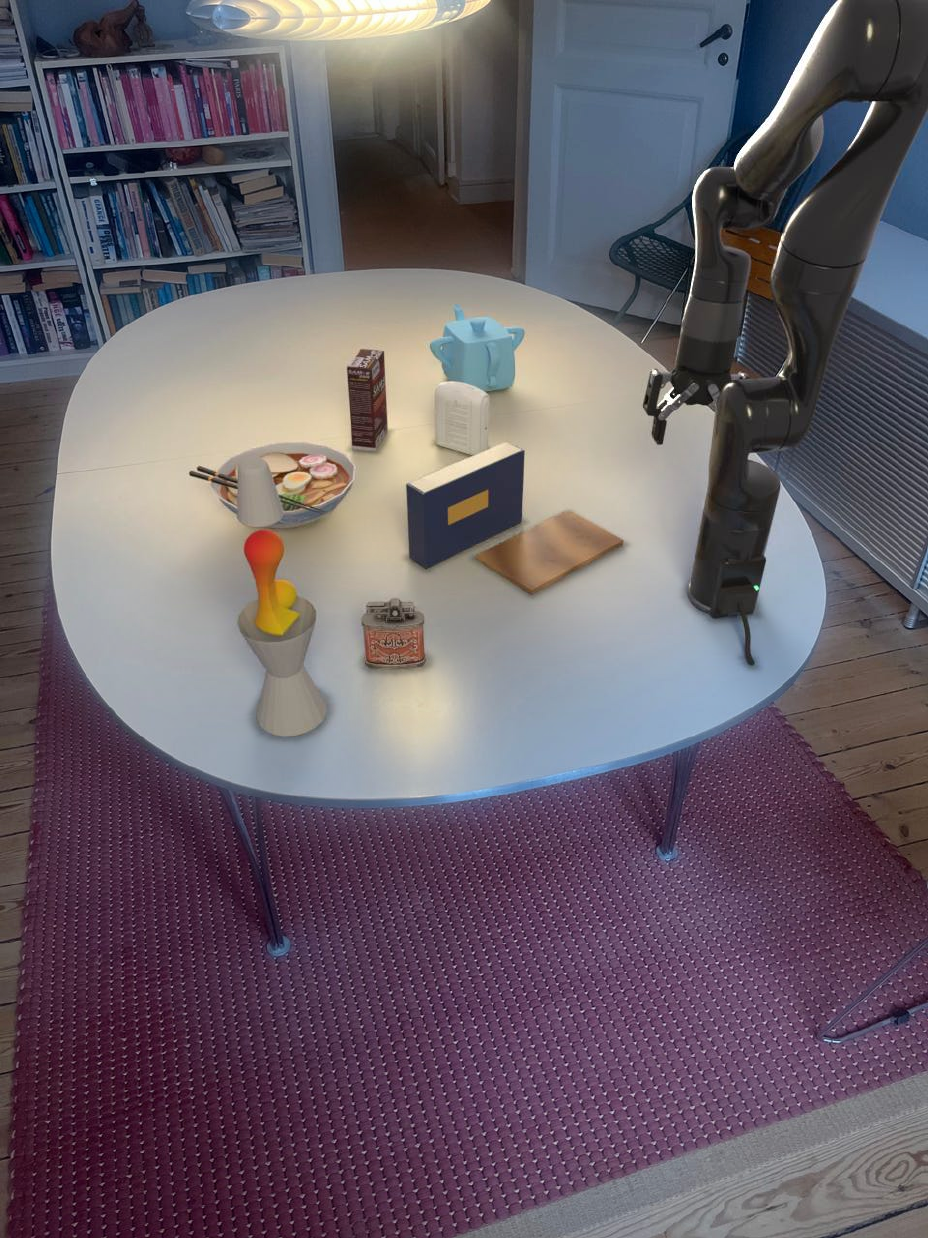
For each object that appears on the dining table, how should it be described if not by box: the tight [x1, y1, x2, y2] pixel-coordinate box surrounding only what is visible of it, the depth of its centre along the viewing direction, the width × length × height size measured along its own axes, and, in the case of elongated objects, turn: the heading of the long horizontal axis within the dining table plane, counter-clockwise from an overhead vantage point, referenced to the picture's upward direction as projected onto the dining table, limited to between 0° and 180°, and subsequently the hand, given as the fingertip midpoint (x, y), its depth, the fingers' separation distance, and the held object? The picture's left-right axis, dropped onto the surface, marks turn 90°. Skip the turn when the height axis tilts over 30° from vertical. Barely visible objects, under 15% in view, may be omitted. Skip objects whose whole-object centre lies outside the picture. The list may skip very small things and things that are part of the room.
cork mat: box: [476, 509, 624, 595], centre depth 146 cm, size 20×12×1 cm, turn 131°
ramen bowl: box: [188, 441, 357, 529], centre depth 153 cm, size 25×23×8 cm
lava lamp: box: [236, 457, 327, 738], centre depth 108 cm, size 9×9×35 cm
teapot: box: [429, 304, 526, 393], centre depth 191 cm, size 18×16×14 cm
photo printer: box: [434, 380, 491, 456], centre depth 169 cm, size 10×4×12 cm, turn 60°
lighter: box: [360, 597, 427, 671], centre depth 123 cm, size 8×3×10 cm, turn 92°
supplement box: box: [346, 348, 389, 453], centre depth 171 cm, size 9×5×16 cm, turn 168°
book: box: [405, 441, 526, 570], centre depth 145 cm, size 20×4×13 cm, turn 131°
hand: (687, 443), depth 136 cm, fingers open, 8 cm apart
